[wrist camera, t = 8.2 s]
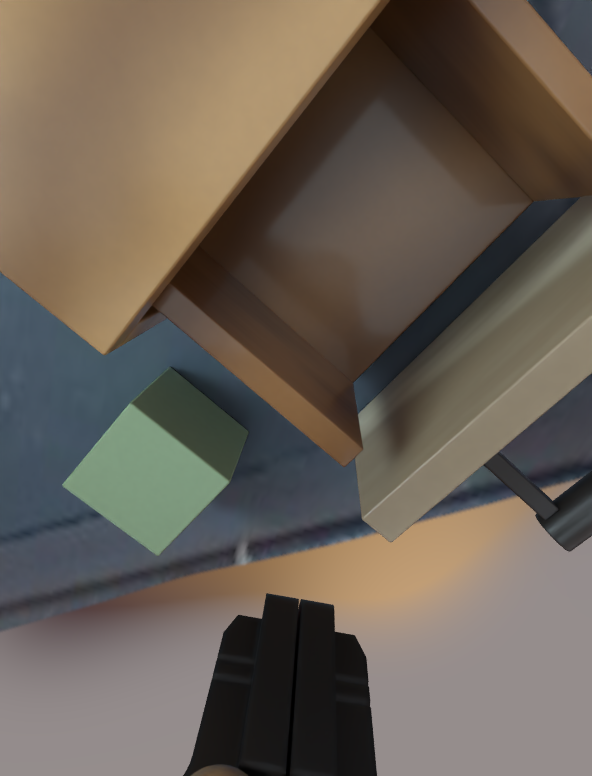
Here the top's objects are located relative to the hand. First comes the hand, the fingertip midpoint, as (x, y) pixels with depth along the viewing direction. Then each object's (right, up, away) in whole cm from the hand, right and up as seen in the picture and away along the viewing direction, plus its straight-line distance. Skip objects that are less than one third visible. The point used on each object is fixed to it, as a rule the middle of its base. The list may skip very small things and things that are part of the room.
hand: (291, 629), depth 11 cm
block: (-5, +3, +12) cm, 13 cm away
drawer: (+4, +10, +8) cm, 13 cm away
